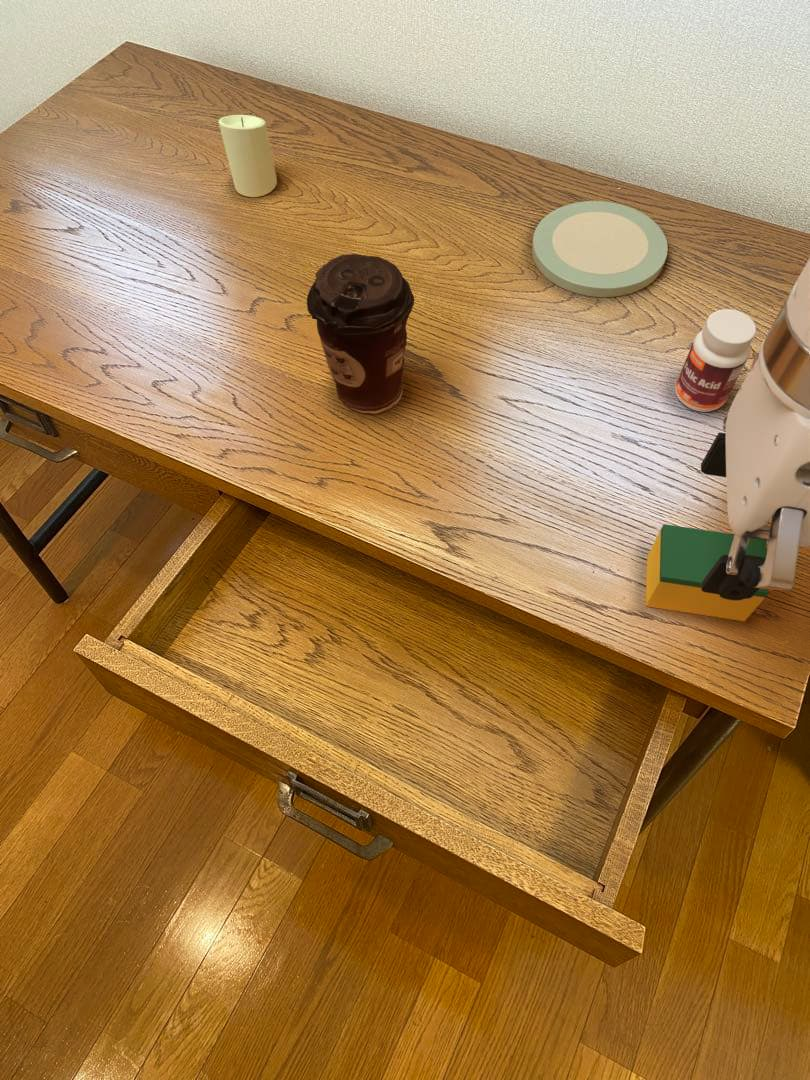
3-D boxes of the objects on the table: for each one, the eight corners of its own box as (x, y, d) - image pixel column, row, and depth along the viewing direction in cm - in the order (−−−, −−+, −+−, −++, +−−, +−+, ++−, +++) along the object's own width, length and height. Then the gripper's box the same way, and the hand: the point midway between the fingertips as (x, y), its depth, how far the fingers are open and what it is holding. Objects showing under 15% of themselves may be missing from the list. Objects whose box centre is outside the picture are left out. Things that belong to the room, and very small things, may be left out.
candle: (247, 168, 89) (231, 98, 82) (284, 176, 88) (271, 106, 81) (227, 192, 87) (208, 123, 80) (265, 201, 86) (250, 131, 79)
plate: (666, 216, 82) (669, 206, 81) (663, 304, 75) (667, 294, 74) (538, 204, 84) (540, 194, 83) (524, 289, 77) (526, 279, 76)
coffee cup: (350, 439, 68) (334, 332, 56) (307, 382, 71) (284, 271, 60) (431, 398, 70) (430, 287, 59) (385, 345, 73) (376, 231, 62)
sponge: (742, 570, 60) (766, 538, 55) (744, 622, 57) (769, 593, 53) (647, 556, 60) (663, 523, 56) (645, 606, 58) (662, 576, 54)
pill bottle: (663, 395, 69) (690, 327, 62) (691, 366, 71) (721, 297, 63) (709, 422, 67) (742, 355, 60) (736, 391, 69) (772, 323, 62)
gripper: (958, 508, 32) (786, 654, 47) (903, 245, 41) (772, 439, 55) (779, 481, 33) (665, 634, 48) (761, 229, 41) (670, 425, 56)
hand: (723, 529), depth 52 cm, fingers open, 9 cm apart
